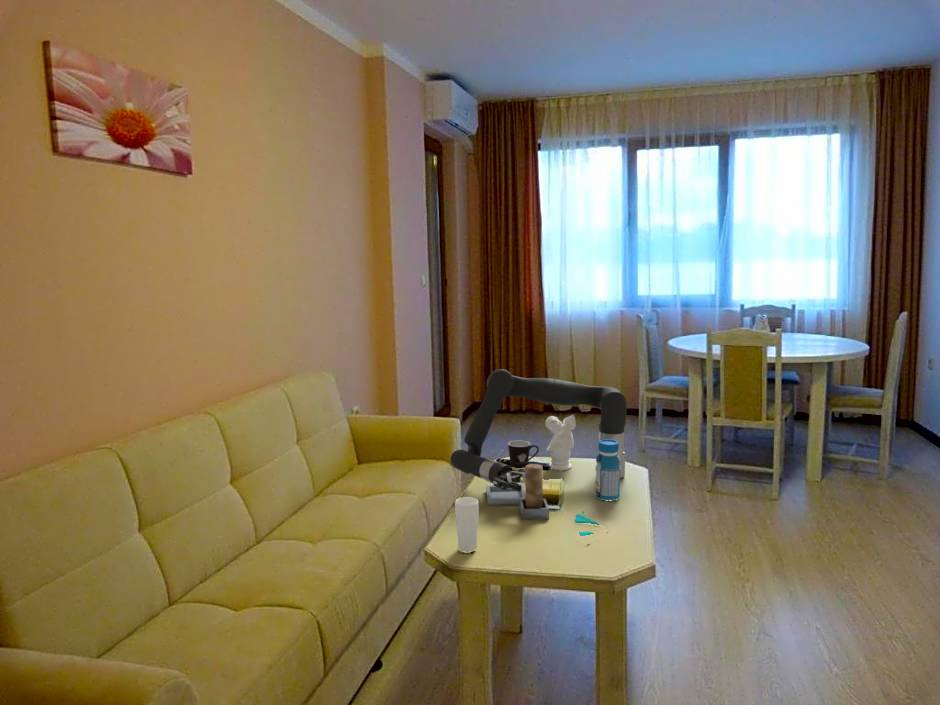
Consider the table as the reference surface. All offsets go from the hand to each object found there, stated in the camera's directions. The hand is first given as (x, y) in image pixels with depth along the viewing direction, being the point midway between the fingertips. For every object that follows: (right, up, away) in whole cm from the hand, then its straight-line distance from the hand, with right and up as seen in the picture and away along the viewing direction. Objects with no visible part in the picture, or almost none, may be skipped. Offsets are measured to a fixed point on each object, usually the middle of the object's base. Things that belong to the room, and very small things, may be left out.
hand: (530, 484), depth 226 cm
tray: (-7, -8, +15) cm, 18 cm away
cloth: (+17, -13, -10) cm, 23 cm away
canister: (+1, -9, 0) cm, 10 cm away
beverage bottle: (+28, -7, +15) cm, 32 cm away
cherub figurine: (+17, -2, +48) cm, 51 cm away
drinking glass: (-20, -15, -24) cm, 34 cm away
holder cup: (+1, -10, 0) cm, 10 cm away
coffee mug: (+1, -2, +46) cm, 46 cm away
